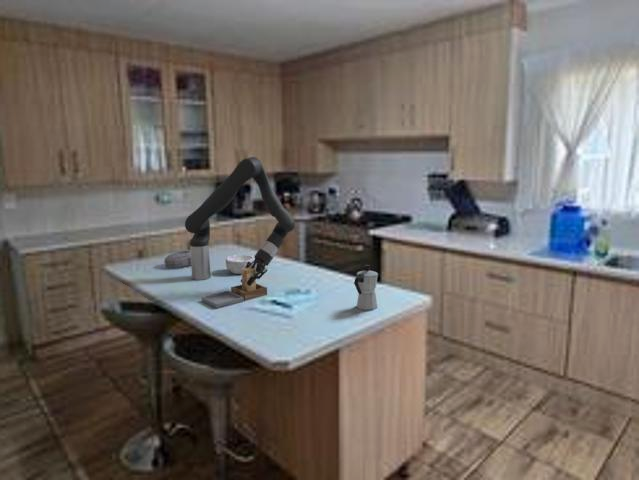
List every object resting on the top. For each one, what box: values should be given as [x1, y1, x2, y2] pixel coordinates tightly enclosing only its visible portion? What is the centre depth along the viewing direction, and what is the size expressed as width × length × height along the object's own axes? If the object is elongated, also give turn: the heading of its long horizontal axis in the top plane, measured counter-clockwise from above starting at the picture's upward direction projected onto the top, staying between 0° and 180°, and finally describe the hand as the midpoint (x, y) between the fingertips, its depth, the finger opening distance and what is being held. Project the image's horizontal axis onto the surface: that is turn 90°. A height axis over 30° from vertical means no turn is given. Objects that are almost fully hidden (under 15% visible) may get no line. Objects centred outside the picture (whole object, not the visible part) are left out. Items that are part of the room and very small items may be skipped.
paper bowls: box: [225, 254, 255, 275], centre depth 243 cm, size 15×15×8 cm
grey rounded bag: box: [163, 249, 191, 269], centre depth 257 cm, size 15×8×20 cm
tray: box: [201, 290, 245, 310], centre depth 196 cm, size 13×13×2 cm
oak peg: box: [241, 267, 257, 292], centre depth 204 cm, size 4×4×12 cm
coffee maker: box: [353, 264, 379, 311], centre depth 185 cm, size 15×9×18 cm, turn 141°
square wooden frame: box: [230, 283, 268, 302], centre depth 205 cm, size 12×12×4 cm
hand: (245, 283), depth 203 cm, fingers closed on oak peg, 4 cm apart
